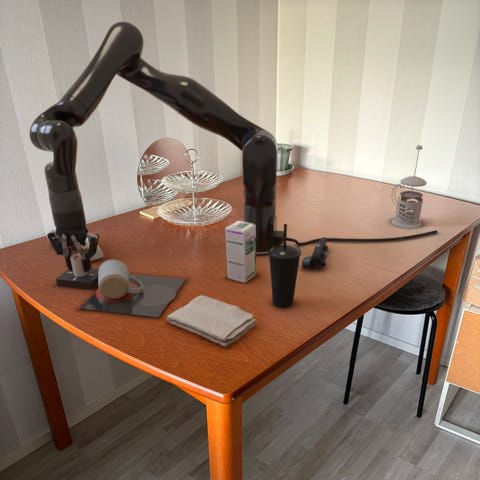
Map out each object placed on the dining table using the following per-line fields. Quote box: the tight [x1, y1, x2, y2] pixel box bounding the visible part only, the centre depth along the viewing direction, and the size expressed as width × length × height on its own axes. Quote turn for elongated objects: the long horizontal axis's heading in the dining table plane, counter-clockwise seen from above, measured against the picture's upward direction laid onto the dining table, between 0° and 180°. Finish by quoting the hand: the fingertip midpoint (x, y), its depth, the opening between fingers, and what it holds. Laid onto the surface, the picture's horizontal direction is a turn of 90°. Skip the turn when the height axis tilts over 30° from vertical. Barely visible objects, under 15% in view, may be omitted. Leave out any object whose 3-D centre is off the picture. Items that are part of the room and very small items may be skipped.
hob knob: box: [70, 253, 88, 277], centre depth 128 cm, size 4×4×5 cm
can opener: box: [301, 236, 329, 269], centre depth 139 cm, size 18×7×6 cm, turn 160°
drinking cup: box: [267, 223, 302, 309], centre depth 114 cm, size 8×8×20 cm
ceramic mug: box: [97, 259, 143, 299], centre depth 122 cm, size 11×8×8 cm
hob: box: [79, 273, 187, 319], centre depth 124 cm, size 21×20×1 cm
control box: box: [55, 267, 99, 290], centre depth 130 cm, size 10×8×2 cm
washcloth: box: [166, 295, 258, 348], centre depth 110 cm, size 12×18×3 cm, turn 54°
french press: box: [391, 144, 428, 229], centre depth 158 cm, size 10×12×25 cm
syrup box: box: [224, 220, 257, 284], centre depth 128 cm, size 6×6×14 cm
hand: (79, 269), depth 129 cm, fingers closed on hob knob, 3 cm apart
